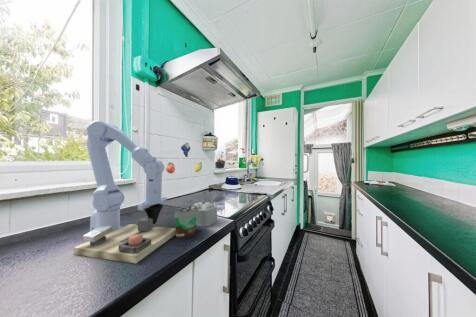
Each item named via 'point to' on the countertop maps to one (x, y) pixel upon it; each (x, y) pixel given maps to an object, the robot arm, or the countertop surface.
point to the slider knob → (145, 224)
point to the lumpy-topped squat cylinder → (206, 214)
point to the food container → (186, 221)
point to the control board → (125, 244)
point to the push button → (135, 240)
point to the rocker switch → (97, 233)
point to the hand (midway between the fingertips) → (153, 223)
